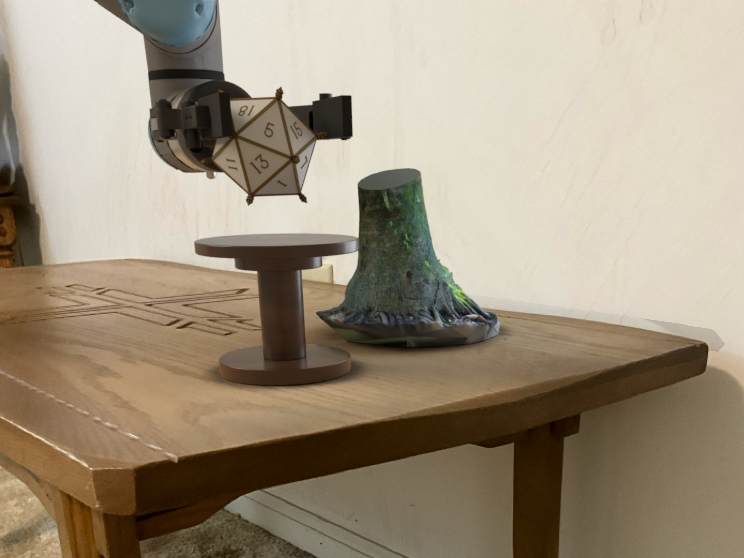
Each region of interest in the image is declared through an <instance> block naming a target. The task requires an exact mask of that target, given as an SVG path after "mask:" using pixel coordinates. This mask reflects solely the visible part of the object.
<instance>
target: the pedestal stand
mask: <svg viewBox="0 0 744 558" xmlns="http://www.w3.org/2000/svg"><path fill="white" fill-rule="evenodd" d="M193 245H194V246H193V247H194V253H195V254H196V255H197V256H201V257H207V258H216V259H233V260H234V268H235V269H236V270H241V271H248V272H256V278H257V292H258V304H259V317H260V329H261V343H262V345H255V346H248V347H244V348H243V347H242V348H238V349H234V350H231V351H228V352H226V353H223V354H221V355H220V356H219V358H218V368H219V369H218V370H219V375H220V376H221V377H222V378H223V379H225V380H228V381H231V382H234V383H238V384H244V385H245V384H246V385H254V386H295V385H306V384H315V383H320V382H326V381H330V380H331V381H332V380H335V379H338V378H340V377H343V376H345V375H347V374H348V373H349V372H350V371H351V369H352V361H351V360H352V359H351V352H349V351H348V350H345V349H343V348H341V347H337V346H331V345H327V344H326V345H325V344H316V343H315V344H314V343H307V341H306V340H307V338H306V323H305V322H306V321H305V306H304V305H305V303H304V288H303V287H304V285H303V271H308V270H313V269H314V270H315V269H319V268H321V267H323V264H324V263H323V257H324V258H325V257H333V256H341V255H348V254H353V253H356V252H358V250H359V238H358V237H357V236H354V235H346V234H337V233H308V232H307V233H305V232H304V233H302V232H301V233H299V232H298V233H292V232H291V233H289V232H288V233H252V234H233V235H219V236H211V237H203V238H198V239H196V240H194V241H193Z"/></svg>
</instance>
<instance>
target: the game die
mask: <svg viewBox="0 0 744 558" xmlns="http://www.w3.org/2000/svg"><path fill="white" fill-rule="evenodd" d="M219 92H225V91H222V90H219ZM274 94H275V95H274V96H263V97H260V96H259V97H252V98H236V99H230V104H231V116H232V129H233V136H231V137H223V138H216V141H215V145H214V149H213V153H212V157H211V158H208V157H207V158H204V159H203V160H202V161H201V162H200V163H202V164H205V165H207V164H209V165H210V163H214V164H215V165H216V166H217V167H218V168H219V169H220V170H222V171H223V172H224V173H223V174H225V175H226V176H227V177H228V178H229V179H230V180H231V181H233V182H234V183H235V184H236V185H237V186H238V187H239V188H240V189H241V190H243V191H244V192H245V194H247V196H246V198H245V201H246V204H247V207H249V206H250V205H252V204H253V203H254V200H255V197H257V198H258V197H282V196H283V197H284V196H286V197H287V196H298V200H300V202H301V203H304V204H308V199H307V196H305V194H303V192H302V190H303V187H304V183H305V180H306V177H307V173H308V171H309V167H310V164H311V160H312V157H313V154H314V150H315V147H316V144H317V141H318V140H317V139H318V138H319V139H321V138H323V139H324V138H325V137H326V136H327V135H328V134H327V133H325V132H323V131H322V132H319V133H318V134H315V133H314V132H313V131H312V130H311V129H310V128H309V127H308V126H307V125H306V124H305V123H304V122H303V121H302V120H301V119H300V118H299V117H298V116H297V115H296V114H295V113H294V112H293V111H292V110H291V109H290V108H289V105H287V104H286V102H285V101H284V100H283V95H284V94H285V93H284V90H283V87H282V86H280V87H279V88H277V89H276V90H275V93H274Z"/></svg>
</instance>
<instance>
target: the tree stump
mask: <svg viewBox="0 0 744 558" xmlns="http://www.w3.org/2000/svg"><path fill="white" fill-rule="evenodd" d="M357 197H358V237H357V238H359V250H358V251H357V262H356V268H355V271H354V272H353V274H352V276H351V278H350V279H349V281H348V282H347V285H346V288H345V291H344V299H343V301H342V302H341V303H340V304H339V305H338V306H334V307H331V308H328V309H325V310H317V311H316V312H315V314H316V316H317V317H318V318H319V319H320V320H321V321H323V323H325V324H326V325H327V326H328V327H329V328H331V329H332V330H333V331H334V332H335V333H336V334H337V335H339V337H341V338H342V339H343V340H344V341H345V342H352V343H361V344H371V345H381V346H390V347H399V348H401V347H402V348H423V347H440V346H455V345H468V344H473V343H478V342H484V341H486V340H488V339H491V338H494V337H496V336H498V335H499V330H500V327H501V323H500V320H498V319H499V317H498V314H497V313H495V312H493V311H490V310H485V309H483V308H482V307H481V306H480V305H479V304H478V303H476V302H475V301H474V299H472V298H471V297H470V296H468V295H467V294H466V292H464V291H463V288H462V287H461V286H460V284H457V283H456V281H455V280H454V278H453V277H454V274H453V271H450V268H448V267H447V266H445V265H443V264H442V262H440V261H441V259H438V256H437V255H436V250H435V248H434V243H433V238H432V234H431V229H430V224H429V219H428V214H427V209H426V204H425V196H424V186H423V179H422V172H421V171H420V170H418V169H416V168H409V167H405V168H394V169H393V168H392V169H386V170H381V171H377V172H374V173H371V174H368V175H367V176H365V177H363V178H361V179H360V180H359V181H358V182H357Z"/></svg>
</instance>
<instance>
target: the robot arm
mask: <svg viewBox="0 0 744 558" xmlns="http://www.w3.org/2000/svg"><path fill="white" fill-rule="evenodd" d="M93 1H94V2H95V3H97V5H99V6H100V7H102V8H103V9H105V10H106V11H107V12H109V13H111V14H112V15H113V16H115V17H116V18H118V19H120V20H121V21H122V22H124V23H125V24H126V25H128V26H130V27H131V28H133V29H134V30H135V31H137V32H138V33H140V34H141V35H142V36H143V44H144V52H145V59H146V66H147V78H148V91H149V96H150V105H151V106H150V107H151V108H149V118H148V120H147V122H148V123H147V135H148V139H149V142H150V143H149V144H150V146H151V147H152V150H153V151H154V153H155V154H156V155H157V157H158V158H159V159H160V160H161V161H162V162H163V163H165V164H166V165H167V166H169V167H171V168H173V169H174V170H176V171H179V172H182V173H184V174H188V173H189V174H196V173H197V174H198V173H200V174H201V173H205V175H206V178H207V179H208V180H214V179H216V178H217V173H223V174H225V173H224V172H223V171H222V170H220V169H219V168H218V167H217V166H216V165H215V164H214V163H210V165H209V164H207V165H205V164H202V163H200V162H201V161H202V160H203V159H204V158H207V157H208V158H211V157H212V153H213V149H214V145H215V141H216V138H223V137H231V136H233V129H232V116H231V104H230V99H236V98H253V97H252V96H251V95H250V94H249V93H248V92H247V91H246V90H245V89H243V87H241V86H240V85H238V84H236V83H233V82H232V81H228V80H226V78H225V73H224V60H223V59H224V58H223V45H222V28H221V13H220V2H219V0H93ZM219 90H222V91H225V92H219ZM352 96H353V95H349V94H345V95H344V94H341V95H336V96H333V93H329V92H328V93H327V92H322V93H321V92H320V93H318V97H319V98H318V99H317V100H313V101H311V104H303V105H292V106H291V105H290V106H289V105H288V107H289V108H290V109H291V110H292V111H293V112H294V113H295V114H296V115H297V116H298V117H299V118H300V119H301V120H302V121H303V122H304V123H305V124H306V125H307V126H308V127H309V128H310V129H311V130H312V131H313V132H314V133H315V134H318V133H319V132H322V131H323V132H325V133H327V134H328V135H327V136H326V137H325V138H324V139H323V138H321V139H319V138H318V139H317V140H316V141H329V140H341V141H348V140H350V139H352V138H353V137H354V134H353V133H354V132H353V131H354V130H353V101H352V99H353V98H352Z"/></svg>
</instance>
